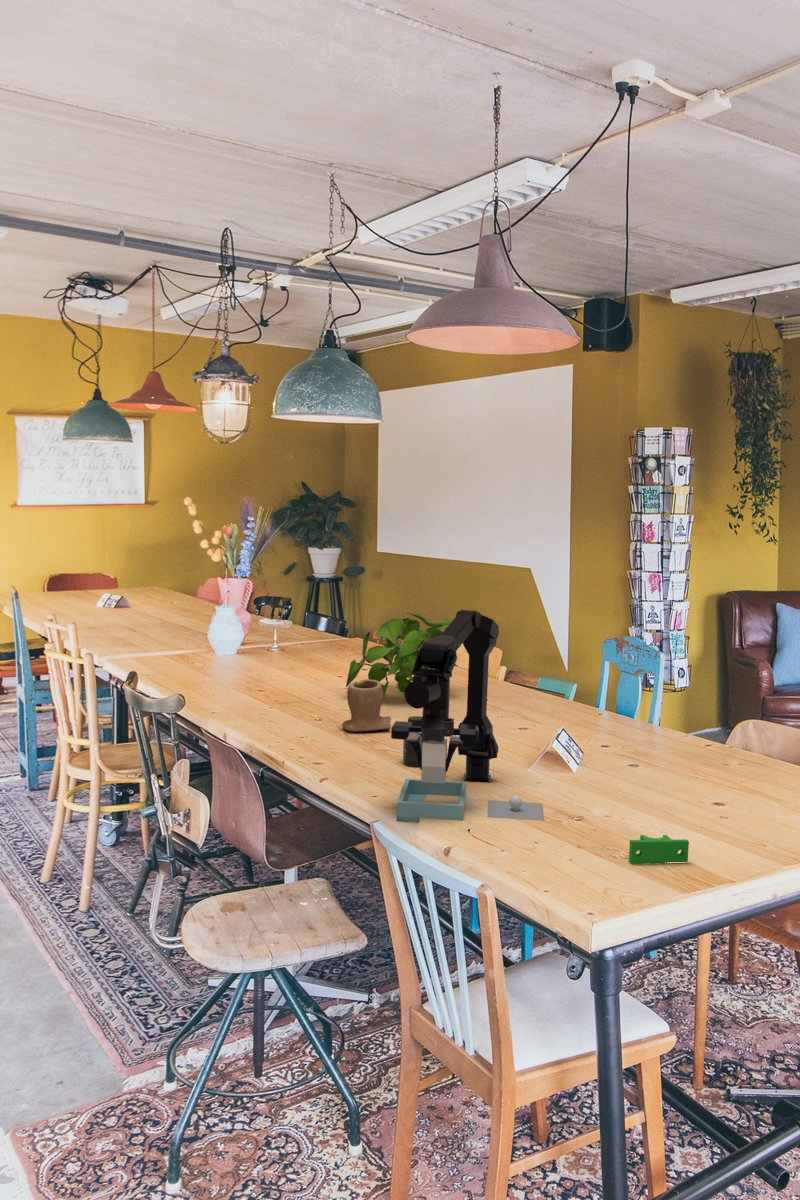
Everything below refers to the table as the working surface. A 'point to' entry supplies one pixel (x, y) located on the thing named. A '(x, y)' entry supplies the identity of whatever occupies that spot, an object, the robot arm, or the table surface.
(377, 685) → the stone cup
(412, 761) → the supplement bottle
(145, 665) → the table surface
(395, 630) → the indoor plant
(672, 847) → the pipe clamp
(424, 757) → the beige rectangular block
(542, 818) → the stud base
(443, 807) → the bin
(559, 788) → the table surface
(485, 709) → the robot arm
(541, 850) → the table surface
